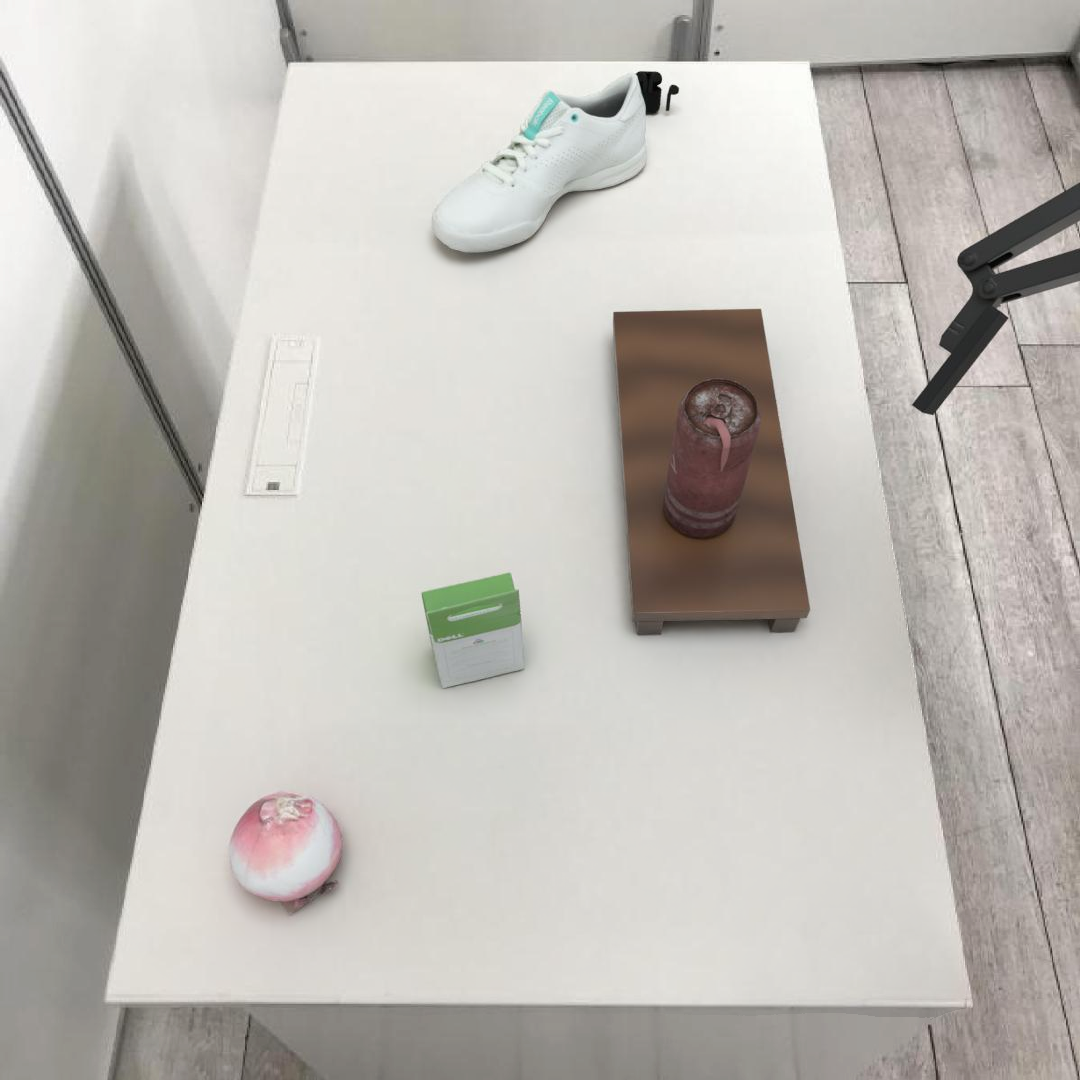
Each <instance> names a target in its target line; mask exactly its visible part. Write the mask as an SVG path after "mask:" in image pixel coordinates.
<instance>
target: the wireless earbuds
mask: <svg viewBox="0 0 1080 1080" xmlns="http://www.w3.org/2000/svg"><path fill="white" fill-rule="evenodd" d="M635 74H636V75H637V77H638V81H639V84H640V89H641V93H642V96H643V99H644V102H645V107H646V114H656V113H658V112H659V110H660V108H661V100H662V91H663V90H662V88H661V87H660V86H659V85H661V84H662V83H663V75H662V74H661V73H660V72H659V71H656V70H653V71H648V70H639V71H637V72H635ZM679 93H680V87H679V86H678V85H676V84H671V85H670V86H669V88H668V91H667V94H666V102H665V112H670V108H671V99H672V96H675V95H678V94H679Z"/></svg>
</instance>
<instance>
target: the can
mask: <svg viewBox="0 0 1080 1080" xmlns="http://www.w3.org/2000/svg"><path fill="white" fill-rule="evenodd" d="M760 425H761V411H760V409H759V406H758V403H757V401H756V399H755V397H754V395H753V394H752V393H751V392H750V391H749V390H748V389H747V388H746V387H745V386H743V385H741V384H740V383H738V382H735V381H732V380H728V379H718V378H714V379H709V380H704V381H702V382H700V383H698V384H696V385H694V386H693V387H692V388H691V390H690V391H689V392H688V393H687V394H686V395H685V396H684V397H683V398H682V400H681V402H680V404H679V407H678V411H677V418H676V424H675V430H674V437H673V443H672V449H671V456H670V462H669V468H668V475H667V481H666V487H665V493H664V505H663V509H664V512H665V515H666V517H667V519H668V520H669V522H670V523H671V524H672V525H673V527H675V528H676V529H678V530H679V531H681V532H682V533H684V534H686V535H690V536H693V537H704V538H706V537H710V536H715V535H718V534H720V533H722V532H723V531H725V530H727V529H728V527H729V526H730V525H731V524H732V523H733V521H734V519H735V516H736V513H737V510H738V506H739V502H740V499H741V495H742V491H743V488H744V484H745V480H746V477H747V473H748V469H749V465H750V462H751V458H752V454H753V451H754V447H755V443H756V440H757V436H758V432H759V429H760Z"/></svg>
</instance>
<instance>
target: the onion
mask: <svg viewBox="0 0 1080 1080" xmlns="http://www.w3.org/2000/svg"><path fill="white" fill-rule="evenodd" d="M342 837H343V836H342V832H341V829H340V826H339V823H338V822H337V820H336V818H335V816H334V815H333V813H332V812H331V811H330V809H329V808H328V807H326V805H325V804H324V803H322V802H321V801H319V800H318V799H315V798H314V797H312V796H310V795H305V794H303V793H297V792H291V791H277V792H273V793H272V794H268V795H266V796H264V797H261V798H259V799H258V800H257V801H256V802H253V804H251V805H250V807H248V808H247V809H246V811H245V812H244V813H243V814H242V816H241V817H240V818H239V820H238V821H237V823H236V825H235V826H234V829H233V831H232V834H231V836H230V840H229V845H228V846H229V847H228V857H229V858H228V859H229V864H230V868H231V871H232V873H233V876H234V878H235V880H236V882H237V883H238V884H239V885H240V887H241V888H243V889H244V890H245V891H247V892H248V893H250V894H252V895H254V896H256V897H259V898H261V899H264V900H268V901H274V902H280V904H281V905H282V907H283V909H284V910H285V912H286V914H287V915H291V914H292V913H294V912H295V911H297V910H299V909H300V908H302V907H304V906H306V905H307V904H308V903H310V902H312V901H313V900H314V899H315V898H316V897H317V896H320V895H323V894H325V893H326V892H328V891H329V890H331V889H332V888H334V887H335V886H337V885H338V884H340V882H339V881H338V880H337V879H335V880H333V881H330V882H327V880H328V879H329V878H330V877H331V875H332V874H333V873H334V871H335V869H336V868H337V866H338V864H339V862H340V860H341V857H342V856H341V855H342V851H343V840H342ZM320 887H321V888H320ZM319 888H320V890H319V892H317V893H316V894H315V895H313V896H312V897H311V898H309V897H308V896H309V895H311V894H312V893H314V892H315V891H316V890H318V889H319Z"/></svg>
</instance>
